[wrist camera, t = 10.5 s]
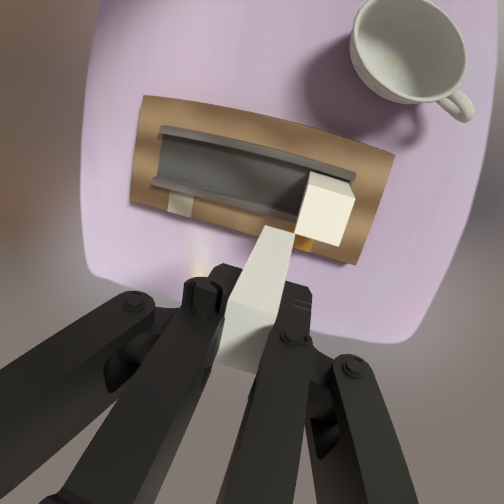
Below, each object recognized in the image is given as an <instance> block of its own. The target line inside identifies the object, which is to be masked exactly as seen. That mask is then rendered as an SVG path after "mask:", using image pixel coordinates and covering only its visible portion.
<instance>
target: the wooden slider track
mask: <svg viewBox="0 0 504 504" xmlns="http://www.w3.org/2000/svg"><path fill="white" fill-rule="evenodd" d="M394 157H395V155H394V154H392V153H389V152H387V151H384V150H381V149H378V148H376V147H373V146H370V145H367V144H364V143H361V142H358V141H355V140H352V139H349V138H346V137H343V136H340V135H336V134H333V133H330V132H327V131H323V130H320V129H316V128H313V127H309V126H306V125H302V124H298V123H295V122H291V121H287V120H283V119H279V118H275V117H271V116H266V115H262V114H258V113H253V112H248V111H244V110H239V109H234V108H229V107H224V106H218V105H213V104H207V103H201V102H195V101H188V100H181V99H174V98H166V97H158V96H148V95H143V101H142V106H141V112H140V118H139V124H138V131H137V138H136V145H135V153H134V161H133V170H132V179H131V190H130V200H131V201H134V202H138V203H142V204H145V205H149V206H152V207H156V208H160V209H163V210H167V211H168V212H172V213H175V214H179V215H182V216H186V217H189V218H191V217H192V218H195V219H199V220H202V221H206V222H209V223H213V224H216V225H220V226H223V227H227V228H230V229H234V230H237V231H241V232H244V233H248V234H251V235H255V236H258V237H259V236H260V234H261V232H262V230H263V228H264V226H265V225H266V226H270V227H273V228H277V229H280V230H284V231H287V232H291V233H294V231H295V227H296V222H297V218H298V213H299V209H300V206H301V202H302V199H303V195H304V192H305V188H306V185H307V181H308V178H309V174H310V171H312V172H316V173H319V174H322V175H326V176H329V177H332V178H335V179H339V180H342V181H345V182H348V184H349V186H350V188H351V190H352V192H353V195H354V197H355V202H354V205H353V208H352V211H351V214H350V216H349V219H348V222H347V225H346V228H345V231H344V234H343V236H342V239H341V242H340V245H339V247H338V246H335V245H331V244H328V243H325V242H322V241H318V240H315V239H312V238H308V237H305V236H302V235H298V234H295V233H294V234H295V238H294V243H293V248H296V249H300V250H303V251H306V252H312V253H316V254H319V255H322V256H326V257H329V258H332V259H336V260H339V261H342V262H345V263H349V264H352V265H355V266H356V264H357V261H358V259H359V256H360V254H361V251H362V249H363V246H364V244H365V241H366V238H367V236H368V233H369V231H370V228H371V225H372V222H373V220H374V217H375V214H376V211H377V209H378V206H379V203H380V200H381V197H382V194H383V191H384V188H385V185H386V182H387V179H388V176H389V173H390V170H391V167H392V164H393V160H394Z"/></svg>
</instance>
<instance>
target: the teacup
mask: <svg viewBox="0 0 504 504" xmlns="http://www.w3.org/2000/svg"><path fill="white" fill-rule="evenodd" d="M349 46H350V56H351V60H352V63H353V66H354V68H355V70H356V72H357V74H358V75H359V77H360V78H361V80H362V81H363V82H364V83H365V85H367V86H368V87H369V88H370V89H371V90H372V91H373V92H375V93H376V94H378V95H379V96H381V97H383V98H385V99H387V100H390V101H392V102H396V103H402V104H419V103H430V102H437V103H438V104H439V105H440V106H441V107H442V108H443V109H444V110H445V111H447V112H448V113H449V114H450V115H451V116H452V117H454V118H455V119H456V120H458V121H460V122H463V123H466V122H468V121H470V120H471V119H472V118H473V116H474V113H475V110H474V106H473V104H472V103H471V101H470V100H469V99H468V97H467V96H466V95H465V94H464V93H463V92H461V91H460V90H459V89H458V88H459V86H460V85H461V83H462V81H463V79H464V77H465V74H466V71H467V64H468V58H467V50H466V46H465V43H464V40H463V38H462V35H461V34H460V32H459V30H458V28H457V27H456V25H455V24H454V22H453V21H452V20H451V19H450V17H449V16H448V15H447V14H446V13H445V12H444V11H443V10H441V9H440V8H439V7H437V6H436V5H435V4H433V3H432V2H430V1H428V0H368V1H367V2H366V3H365V4H364V5H363V6H362V7H361V8H360V10H359V11H358V13H357V15H356V17H355V20H354V24H353V30H352V33H351V37H350V45H349Z"/></svg>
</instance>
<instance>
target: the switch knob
mask: <svg viewBox="0 0 504 504" xmlns="http://www.w3.org/2000/svg"><path fill="white" fill-rule="evenodd" d="M354 202H355V197H354V195H353V192H352V190H351V188H350V186H349V184H348V182H345V181H342V180H339V179H335V178H332V177H329V176H326V175H322V174H319V173H316V172H312V171H310V174H309V178H308V181H307V185H306V188H305V192H304V195H303V199H302V202H301V206H300V209H299V213H298V218H297V222H296V227H295V231H294V233H295V234H298V235H302V236H305V237H308V238H312V239H315V240H318V241H322V242H325V243H328V244H331V245H335V246H338V247H339V245H340V242H341V239H342V236H343V234H344V231H345V228H346V225H347V222H348V219H349V216H350V214H351V211H352V208H353V205H354Z"/></svg>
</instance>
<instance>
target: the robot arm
mask: <svg viewBox="0 0 504 504" xmlns="http://www.w3.org/2000/svg"><path fill="white" fill-rule="evenodd" d="M294 238H295V234H294V233H291V232H287V231H284V230H280V229H277V228H273V227H270V226H266V225H265V226H264V228H263V230H262V232H261V234H260V236H259V238H258V240H257V242H256V244H255V246H254V248H253V250H252V252H251V254H250V256H249V259H248V261H247V263H246V265H245V267H244V269H241V268H238V267H234V266H231V265H228V264H224V263H222V264H220V265H218V266H216V267H214V268H213V270H212V271H211V273H210V275H209V276H208V277H194V278H191V279H188V280H187V281H186V282H184V289H183V298H182V305H181V306H180V308H162V307H155V302H154V300H153V298H152V297H150V296H149V295H148V294H146V293H143V292H139V291H126V292H124V293H121V294H119V295H117V296H115V297H114V298H112V299H110V300H109V301H107V302H106V303H104V304H102V305H101V306H99V307H97V308H96V309H94V310H93V311H91V312H89V313H88V314H86V315H84V316H83V317H81V318H80V319H78V320H76V321H75V322H73V323H72V324H70V325H69V326H67V327H65V328H64V329H62V330H61V331H59V332H58V333H56V334H54V335H53V336H51V337H50V338H48V339H46V340H45V341H43V342H42V343H40V344H39V345H37V346H35V347H34V348H32V349H31V350H29V351H28V352H26V353H25V354H24V355H22V356H20V357H19V358H17V359H16V360H14V361H13V362H11V363H9V364H8V365H7V366H5V367H3V368H2V369H0V499H1V498H3V497H4V496H6V495H7V494H8V493H9V492H10V491H12V490H13V489H14V488H15V487H17V486H18V485H19V484H20V483H21V482H22V481H23V480H25V479H26V478H27V477H28V476H29V475H31V474H32V473H33V472H34V471H35V470H37V469H38V468H39V467H40V466H41V465H42V464H44V463H45V462H46V461H47V460H48V459H49V458H51V457H52V456H53V455H54V454H55V453H57V452H58V451H59V450H60V449H61V448H62V447H64V446H65V445H66V444H67V443H68V442H69V441H70V440H71V439H72V438H74V437H75V436H76V435H77V434H78V433H80V432H81V431H82V430H83V429H84V428H85V427H87V426H88V425H89V424H90V423H91V422H92V421H93V420H94V419H96V418H97V417H98V416H99V415H100V414H101V413H102V412H104V411H105V410H106V409H107V408H108V407H109V406H110V405H111V404H113V403H114V402H115V401H116V400H117V399H118V398H119V399H118V400H117V402H116V403H115V405H114V406H113V408H112V409H111V411H110V413H109V414H108V415H107V417H106V419H105V420H104V422H103V423H102V425H101V427H100V428H99V430H98V431H97V433H96V434H95V436H94V437H93V439H92V440H91V442H90V444H89V445H88V447H87V448H86V450H85V452H84V453H83V455H82V456H81V458H80V460H79V461H78V463H77V464H76V466H75V468H74V470H73V471H72V472H71V474H70V476H69V477H68V479H67V481H66V482H65V484H64V486H63V487H62V488H61V490H60V491H59V492H57V493H56V494H54V495H51V496H47V497H46V498H44V499H43V500H42V501H41V502H40V503H39V504H154V502H155V500H156V497H157V495H158V493H159V491H160V488H161V486H162V484H163V481H164V479H165V477H166V475H167V472H168V470H169V468H170V466H171V463H172V461H173V459H174V456H175V454H176V452H177V450H178V447H179V445H180V443H181V440H182V438H183V436H184V434H185V431H186V429H187V427H188V424H189V422H190V420H191V418H192V415H193V413H194V411H195V408H196V406H197V404H198V401H199V399H200V397H201V394H202V392H203V390H204V387H205V385H206V383H207V380H208V378H209V376H210V373H211V369H212V364H213V361H214V359H215V357H216V359H215V362H218V363H221V364H224V365H227V366H230V367H233V368H237V369H240V370H243V371H247V372H250V373H253V374H256V377H255V379H254V382H253V385H252V388H251V390H250V393H249V396H248V402H247V405H246V409H245V412H244V416H243V419H242V422H241V425H240V429H239V432H238V435H237V439H236V442H235V445H234V449H233V452H232V455H231V458H230V461H229V464H228V468H227V471H226V474H225V477H224V480H223V483H222V486H221V489H220V492H219V496H218V498H217V501H216V504H292V503H293V498H294V492H295V486H296V480H297V474H298V467H299V460H300V454H301V446H302V440H303V431H304V424H305V429H306V436H307V442H308V448H309V454H310V461H311V467H312V474H313V479H314V487H315V493H316V500H317V504H419V503H418V500H417V496H416V493H415V490H414V486H413V483H412V480H411V477H410V474H409V471H408V468H407V465H406V462H405V459H404V455H403V453H402V450H401V447H400V444H399V441H398V438H397V435H396V433H395V429H394V427H393V424H392V421H391V419H390V416H389V413H388V410H387V407H386V405H385V402H384V400H383V397H382V394H381V392H380V389H379V387H378V384H377V381H376V379H375V376H374V374H373V371H372V369H371V368H370V366H369V364H368V363H366V362H365V361H364V360H363V359H362V358H360V357H358V356H355V355H351V354H342V355H339V356H338V357H336V358H335V360H334V359H331V358H330V357H328V356H326V355H324V354H322V353H321V352H319V351H318V350H317V349H316V348H315V347H314V346H313V343H312V338H311V337H310V335H309V331H310V320H311V307H312V305H311V304H312V294H311V292H310V290H309V288H308V287H306V286H302V285H299V284H295V283H292V282H289V281H285V279H286V275H287V270H288V266H289V261H290V257H291V252H292V247H293V243H294Z"/></svg>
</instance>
